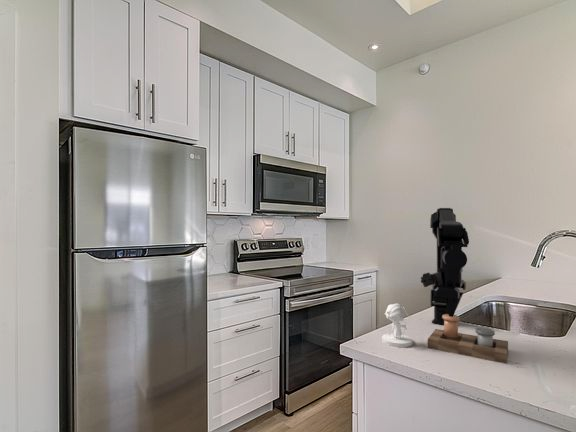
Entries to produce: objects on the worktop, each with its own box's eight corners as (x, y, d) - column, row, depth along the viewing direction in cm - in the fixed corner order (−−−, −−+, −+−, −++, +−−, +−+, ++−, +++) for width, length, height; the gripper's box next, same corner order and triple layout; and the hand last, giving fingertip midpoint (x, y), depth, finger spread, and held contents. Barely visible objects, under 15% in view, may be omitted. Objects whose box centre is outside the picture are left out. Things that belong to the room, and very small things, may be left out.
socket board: (435, 336, 112) (435, 328, 112) (508, 349, 101) (508, 341, 101) (427, 347, 103) (427, 339, 103) (506, 363, 91) (506, 354, 91)
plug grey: (476, 346, 103) (476, 326, 103) (495, 349, 100) (495, 329, 100) (474, 351, 99) (474, 331, 99) (494, 354, 96) (494, 334, 96)
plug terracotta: (443, 331, 108) (443, 313, 108) (460, 334, 105) (460, 315, 105) (440, 336, 104) (441, 316, 104) (458, 339, 101) (458, 319, 101)
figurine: (419, 344, 105) (419, 305, 105) (394, 348, 102) (394, 308, 102) (399, 335, 113) (399, 299, 114) (376, 338, 110) (376, 301, 110)
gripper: (429, 260, 117) (429, 306, 117) (415, 266, 101) (415, 319, 101) (466, 262, 111) (466, 311, 111) (457, 269, 95) (457, 325, 95)
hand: (451, 316), depth 105 cm, fingers closed, pressing on plug terracotta
